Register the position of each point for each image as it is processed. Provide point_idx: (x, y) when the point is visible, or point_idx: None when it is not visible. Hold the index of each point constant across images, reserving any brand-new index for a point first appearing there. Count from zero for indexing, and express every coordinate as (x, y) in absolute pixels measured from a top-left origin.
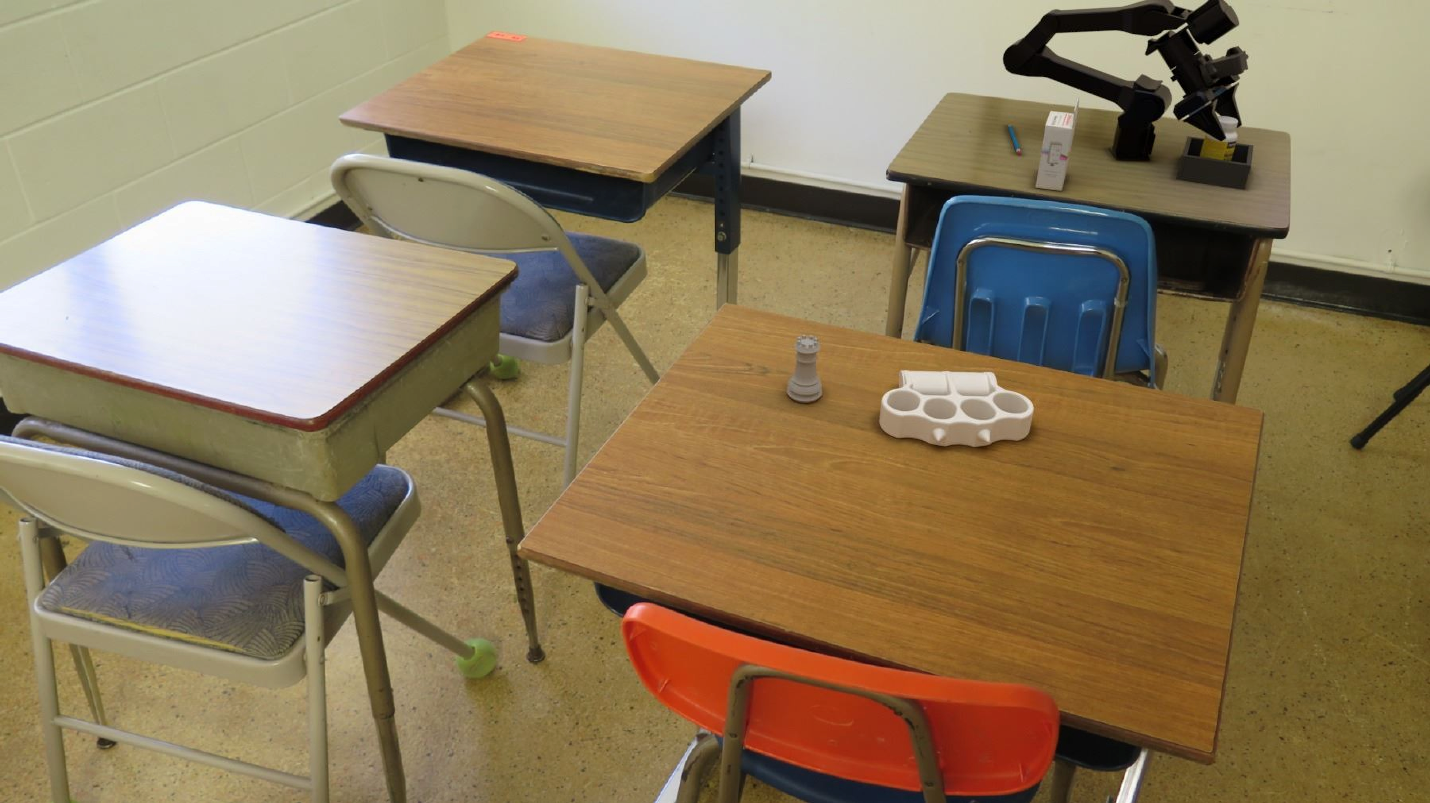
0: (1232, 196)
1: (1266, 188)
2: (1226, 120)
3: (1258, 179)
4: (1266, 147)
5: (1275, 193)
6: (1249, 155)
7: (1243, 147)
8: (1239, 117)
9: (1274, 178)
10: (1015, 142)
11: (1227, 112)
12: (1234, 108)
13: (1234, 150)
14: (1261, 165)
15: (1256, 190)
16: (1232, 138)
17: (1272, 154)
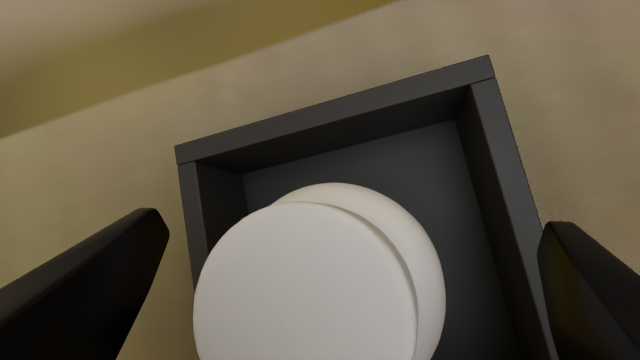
0: (585, 112)
1: (391, 44)
2: (324, 312)
3: (315, 97)
4: (14, 171)
5: (423, 2)
6: (328, 114)
7: (203, 182)
8: (99, 240)
9: (271, 58)
10: None
11: (71, 355)
12: (26, 315)
13: (219, 217)
14: (174, 133)
15: (439, 63)
16: (386, 201)
17: (62, 137)
